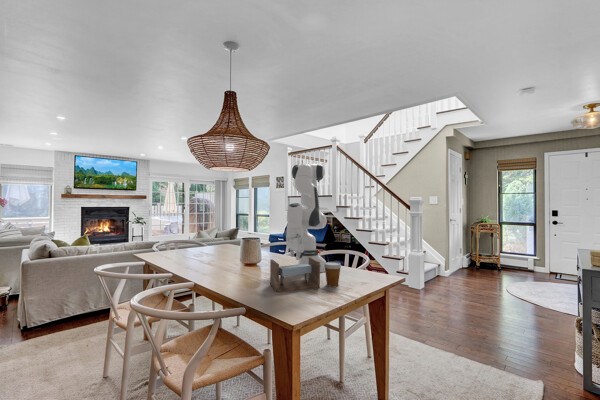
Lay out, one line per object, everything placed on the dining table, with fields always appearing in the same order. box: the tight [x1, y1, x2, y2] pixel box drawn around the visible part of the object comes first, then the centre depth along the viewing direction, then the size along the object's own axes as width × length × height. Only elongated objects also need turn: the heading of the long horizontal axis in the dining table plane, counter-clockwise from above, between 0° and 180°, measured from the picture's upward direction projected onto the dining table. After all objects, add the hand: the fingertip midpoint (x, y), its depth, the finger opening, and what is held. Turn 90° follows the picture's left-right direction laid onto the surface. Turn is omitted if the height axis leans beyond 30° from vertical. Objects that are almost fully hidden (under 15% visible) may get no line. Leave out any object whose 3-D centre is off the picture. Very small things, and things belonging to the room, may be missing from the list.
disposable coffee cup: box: [324, 261, 342, 287], centre depth 165 cm, size 10×10×12 cm
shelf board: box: [279, 264, 312, 278], centre depth 162 cm, size 18×6×4 cm, turn 120°
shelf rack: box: [269, 257, 321, 293], centre depth 162 cm, size 24×14×14 cm, turn 109°
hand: (294, 258), depth 162 cm, fingers open, 8 cm apart
